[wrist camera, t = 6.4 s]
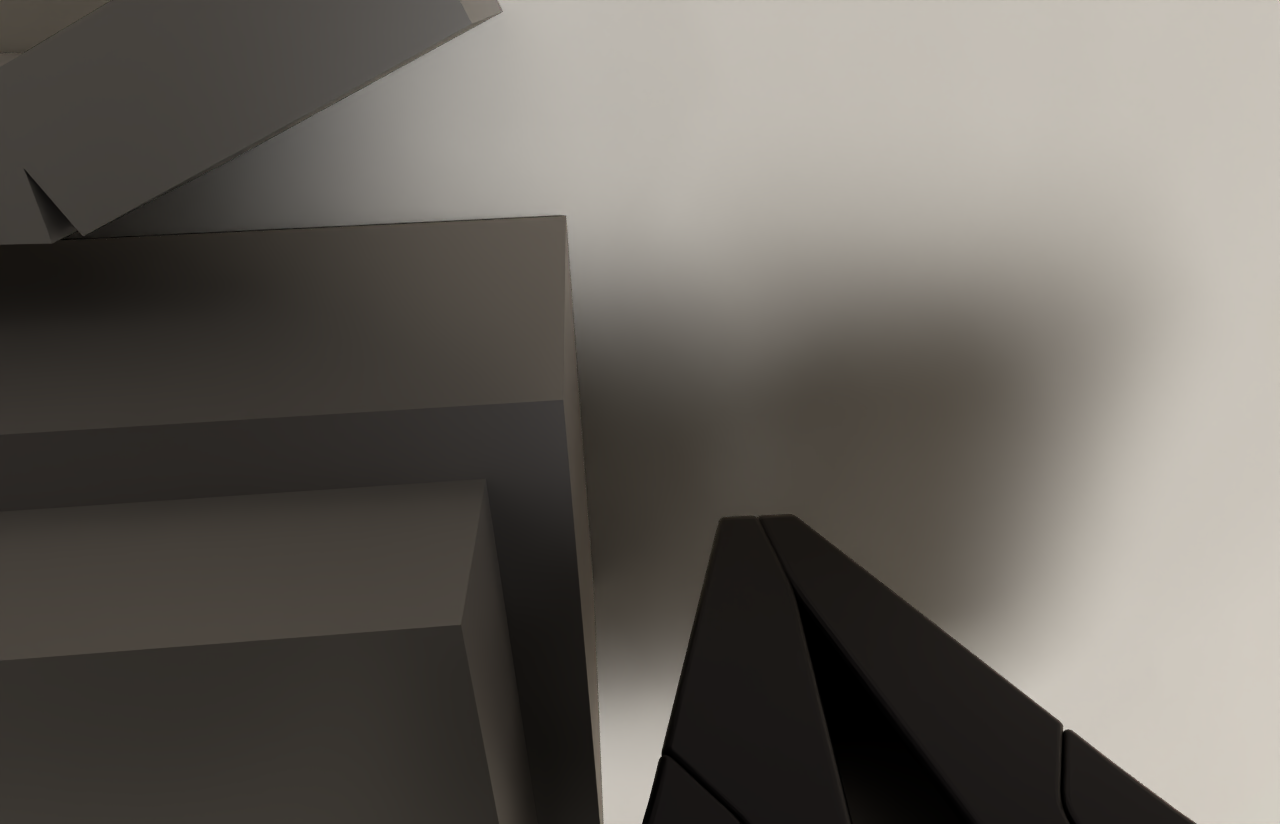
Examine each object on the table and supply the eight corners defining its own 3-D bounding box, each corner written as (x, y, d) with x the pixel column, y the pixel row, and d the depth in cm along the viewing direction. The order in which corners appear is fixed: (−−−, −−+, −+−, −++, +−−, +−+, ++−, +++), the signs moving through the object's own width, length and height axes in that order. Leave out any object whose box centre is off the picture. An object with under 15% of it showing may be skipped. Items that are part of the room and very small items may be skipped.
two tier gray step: (593, 588, 10) (613, 1061, 6) (-113, 642, 10) (-703, 1208, 5) (565, 215, 8) (561, 529, 3) (-378, 261, 7) (-1896, 706, 3)
